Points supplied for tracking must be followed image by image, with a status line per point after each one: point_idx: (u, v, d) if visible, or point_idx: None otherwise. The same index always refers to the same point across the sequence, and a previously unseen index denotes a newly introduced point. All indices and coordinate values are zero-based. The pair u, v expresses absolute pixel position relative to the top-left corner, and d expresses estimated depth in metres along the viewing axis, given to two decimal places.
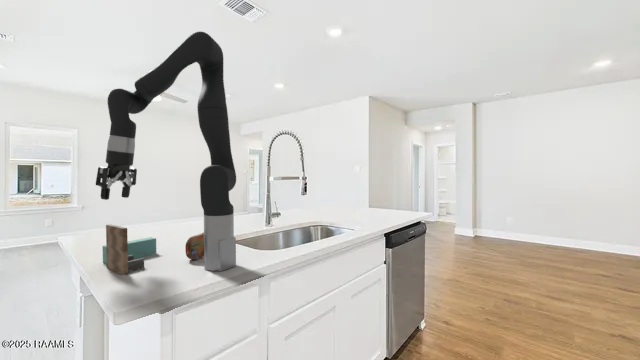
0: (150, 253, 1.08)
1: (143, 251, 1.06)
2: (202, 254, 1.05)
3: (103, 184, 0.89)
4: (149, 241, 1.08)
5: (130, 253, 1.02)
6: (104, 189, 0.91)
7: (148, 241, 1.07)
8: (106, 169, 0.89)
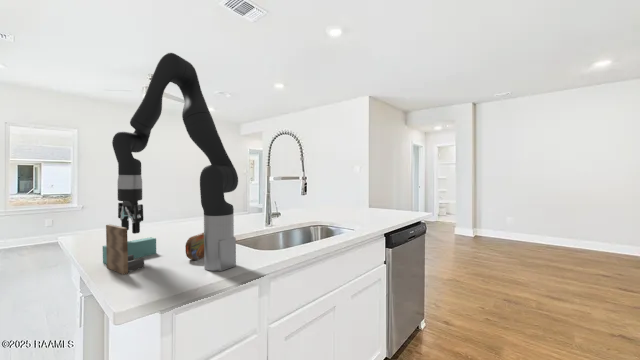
0: (150, 253, 1.08)
1: (143, 251, 1.06)
2: (202, 254, 1.05)
3: None
4: (149, 241, 1.08)
5: (130, 253, 1.02)
6: (138, 224, 1.02)
7: (148, 241, 1.07)
8: None
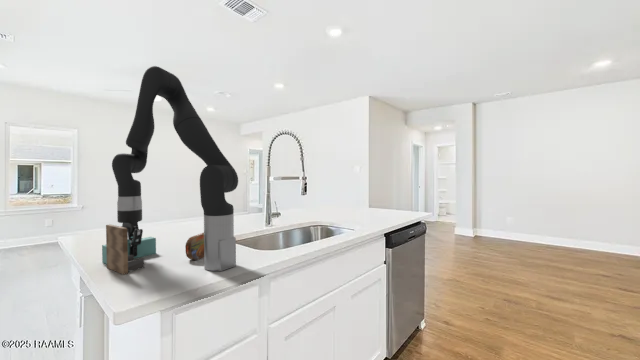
0: (150, 253, 1.08)
1: (142, 251, 1.06)
2: (202, 254, 1.05)
3: None
4: (149, 241, 1.08)
5: None
6: (135, 247, 1.03)
7: (148, 241, 1.07)
8: None
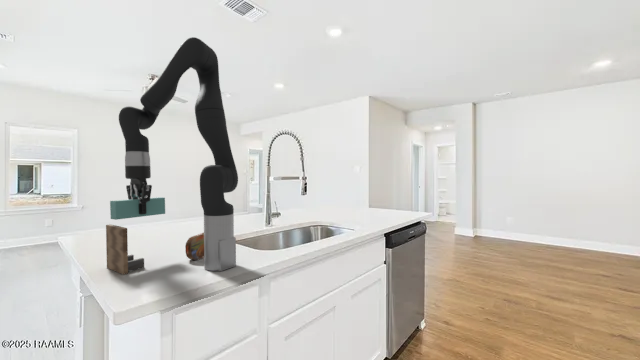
0: (159, 212, 1.04)
1: (151, 209, 1.02)
2: (202, 254, 1.05)
3: None
4: (158, 200, 1.04)
5: (138, 210, 0.99)
6: (144, 204, 0.99)
7: (157, 199, 1.04)
8: None
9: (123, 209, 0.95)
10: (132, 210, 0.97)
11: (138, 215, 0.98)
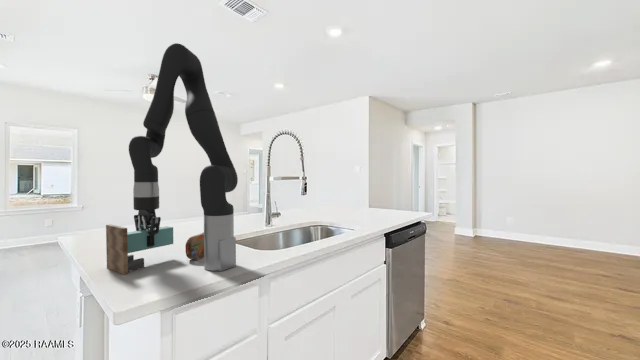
0: (167, 243, 1.01)
1: (159, 241, 0.99)
2: (202, 254, 1.05)
3: None
4: (166, 230, 1.01)
5: (146, 242, 0.96)
6: (153, 236, 0.96)
7: (165, 230, 1.01)
8: None
9: (131, 243, 0.92)
10: (140, 243, 0.94)
11: (146, 248, 0.96)
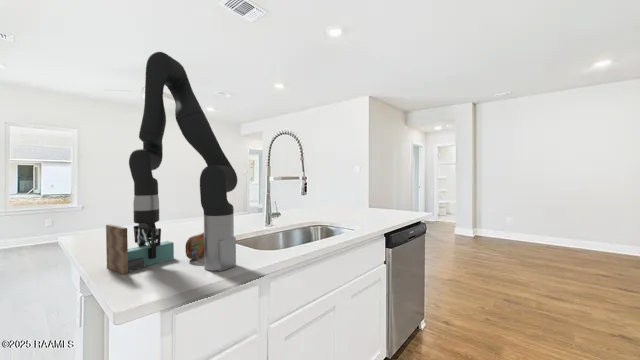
0: (167, 258, 1.01)
1: (160, 256, 0.99)
2: (202, 254, 1.05)
3: None
4: (166, 245, 1.01)
5: (147, 258, 0.96)
6: (154, 249, 0.96)
7: (165, 245, 1.01)
8: None
9: None
10: None
11: (146, 264, 0.95)
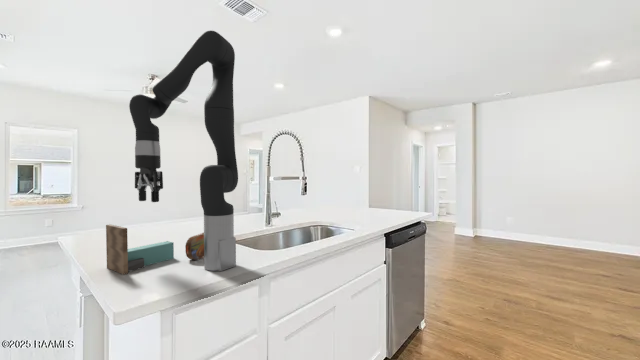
0: (167, 258, 1.01)
1: (160, 256, 0.99)
2: (202, 254, 1.05)
3: None
4: (166, 245, 1.01)
5: (147, 258, 0.96)
6: (157, 192, 0.96)
7: (165, 245, 1.01)
8: None
9: None
10: None
11: (147, 264, 0.95)
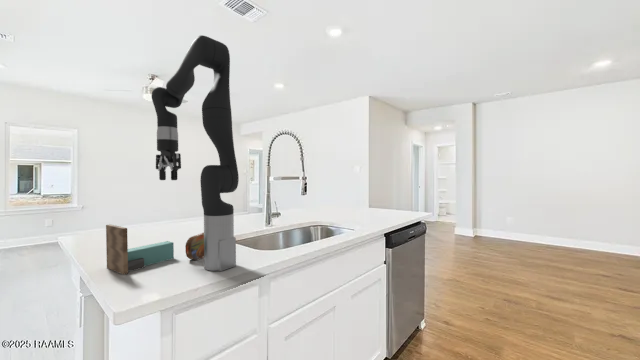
0: (167, 258, 1.01)
1: (160, 256, 0.99)
2: (202, 254, 1.05)
3: None
4: (166, 245, 1.01)
5: (147, 258, 0.96)
6: (176, 171, 1.11)
7: (165, 245, 1.01)
8: None
9: None
10: None
11: (147, 264, 0.95)
